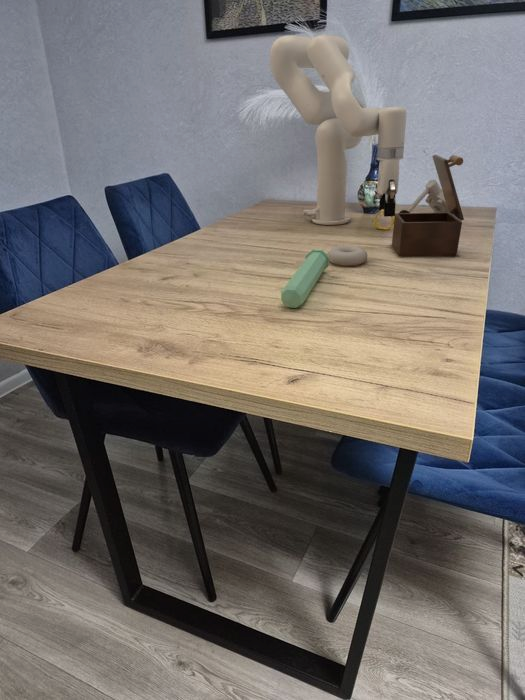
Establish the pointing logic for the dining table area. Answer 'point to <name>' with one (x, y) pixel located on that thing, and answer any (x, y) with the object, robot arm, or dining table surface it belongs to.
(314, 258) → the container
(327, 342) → the dining table surface
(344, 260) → the donut
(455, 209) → the lid
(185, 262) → the dining table surface
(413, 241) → the chest
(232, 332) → the dining table surface
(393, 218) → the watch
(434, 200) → the valve
